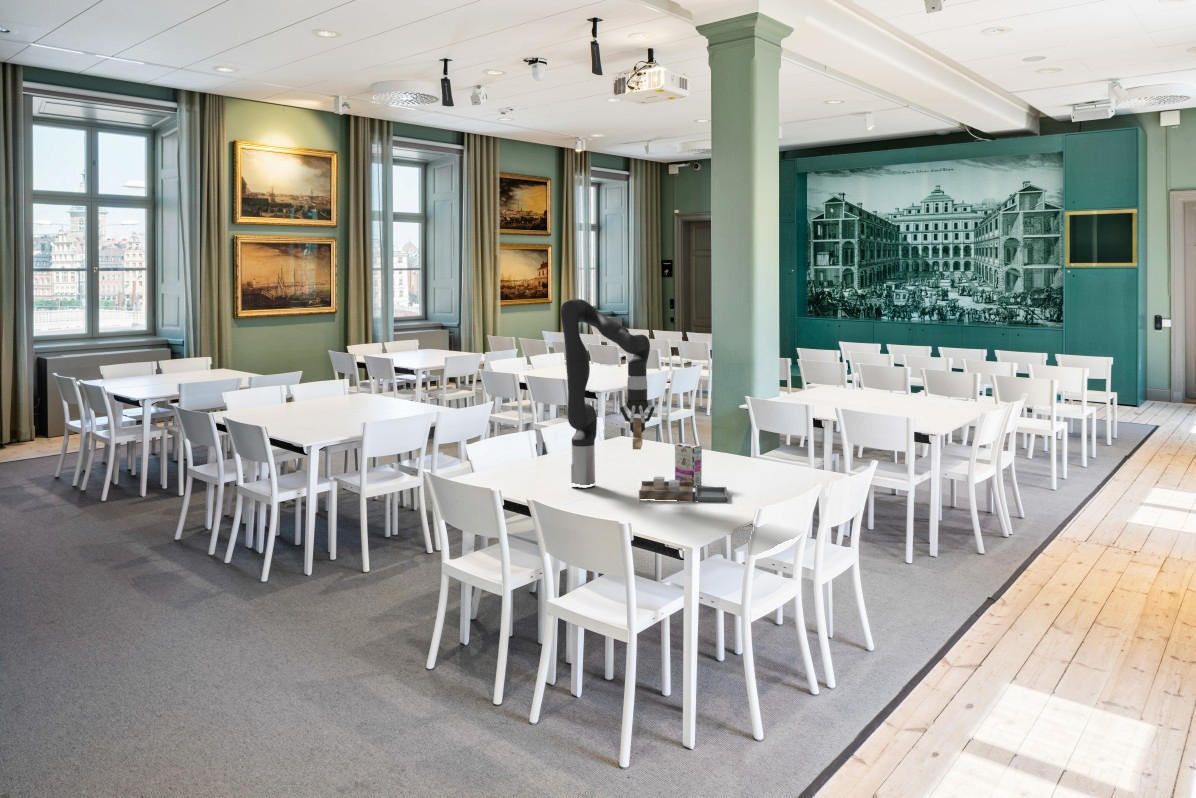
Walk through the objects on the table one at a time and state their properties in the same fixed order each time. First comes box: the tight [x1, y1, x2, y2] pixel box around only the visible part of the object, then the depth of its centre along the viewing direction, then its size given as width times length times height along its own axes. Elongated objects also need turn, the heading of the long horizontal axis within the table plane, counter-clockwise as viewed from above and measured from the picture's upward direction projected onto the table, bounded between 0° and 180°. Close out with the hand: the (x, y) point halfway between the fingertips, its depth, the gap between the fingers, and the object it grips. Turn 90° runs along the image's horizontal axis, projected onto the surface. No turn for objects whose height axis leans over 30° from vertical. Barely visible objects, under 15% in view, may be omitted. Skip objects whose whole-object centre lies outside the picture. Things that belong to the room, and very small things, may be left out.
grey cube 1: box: [653, 476, 665, 489], centre depth 349 cm, size 4×4×4 cm
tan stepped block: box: [632, 417, 643, 450], centre depth 345 cm, size 3×11×11 cm, turn 174°
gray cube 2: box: [668, 479, 680, 491], centre depth 344 cm, size 4×4×4 cm
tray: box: [694, 486, 728, 503], centre depth 345 cm, size 12×16×2 cm
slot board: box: [638, 480, 694, 502], centre depth 346 cm, size 20×16×4 cm
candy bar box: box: [674, 442, 703, 488], centre depth 364 cm, size 11×5×16 cm, turn 37°
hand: (637, 431), depth 345 cm, fingers closed on tan stepped block, 3 cm apart
